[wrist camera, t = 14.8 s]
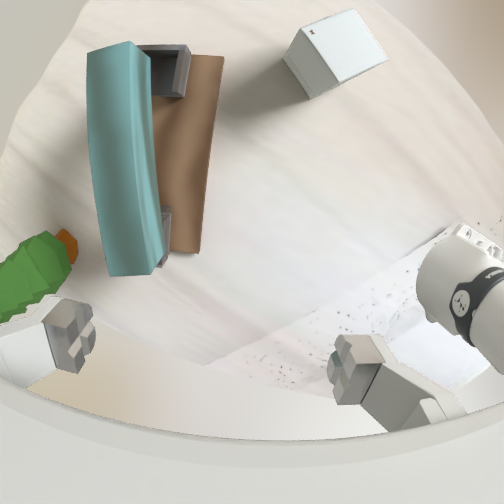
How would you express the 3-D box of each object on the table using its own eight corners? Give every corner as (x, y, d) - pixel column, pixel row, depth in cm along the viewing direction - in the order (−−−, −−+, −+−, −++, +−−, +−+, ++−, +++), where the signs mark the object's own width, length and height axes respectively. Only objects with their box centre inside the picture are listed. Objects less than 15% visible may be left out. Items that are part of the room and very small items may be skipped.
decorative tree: (94, 242, 43) (-32, 356, 15) (77, 285, 46) (-24, 402, 17) (51, 212, 41) (-86, 292, 13) (37, 256, 43) (-75, 348, 15)
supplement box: (310, 100, 37) (337, 84, 25) (281, 58, 35) (297, 26, 23) (351, 80, 36) (390, 60, 24) (324, 38, 34) (353, 5, 22)
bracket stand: (224, 59, 35) (217, 25, 22) (199, 250, 44) (184, 291, 32) (142, 57, 34) (105, 29, 21) (124, 240, 43) (87, 275, 31)
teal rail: (150, 58, 23) (129, 40, 18) (166, 250, 30) (150, 274, 25) (113, 66, 23) (87, 53, 18) (131, 252, 30) (109, 276, 25)
